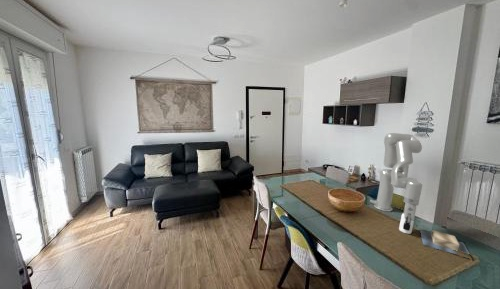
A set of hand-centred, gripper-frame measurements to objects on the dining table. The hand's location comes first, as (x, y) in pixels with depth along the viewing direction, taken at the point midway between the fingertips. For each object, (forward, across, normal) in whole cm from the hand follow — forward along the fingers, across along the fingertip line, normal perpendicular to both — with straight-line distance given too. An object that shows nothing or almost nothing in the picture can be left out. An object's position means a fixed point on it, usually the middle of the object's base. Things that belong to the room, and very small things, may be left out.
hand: (405, 226), depth 131 cm
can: (+3, 0, 0) cm, 3 cm away
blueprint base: (+3, -2, -18) cm, 18 cm away
